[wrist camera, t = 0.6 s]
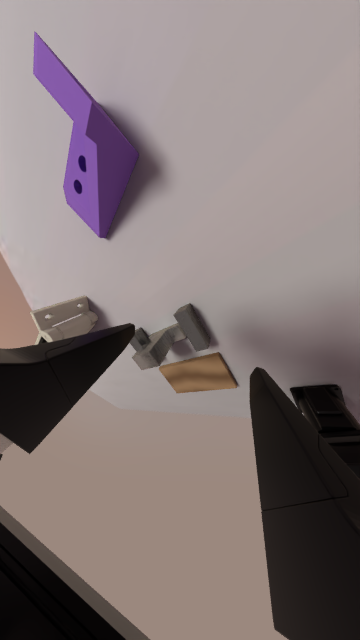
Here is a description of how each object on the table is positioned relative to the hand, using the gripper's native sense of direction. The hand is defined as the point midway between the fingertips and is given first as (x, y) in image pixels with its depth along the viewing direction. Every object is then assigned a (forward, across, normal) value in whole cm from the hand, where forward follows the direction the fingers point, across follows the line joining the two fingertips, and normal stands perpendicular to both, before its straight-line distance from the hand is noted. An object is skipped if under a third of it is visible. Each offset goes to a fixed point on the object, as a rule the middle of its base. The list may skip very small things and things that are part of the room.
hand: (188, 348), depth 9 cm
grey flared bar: (+14, +6, +11) cm, 19 cm away
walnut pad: (+14, -2, +20) cm, 24 cm away
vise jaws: (+14, +6, +11) cm, 19 cm away
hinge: (+14, +30, +14) cm, 36 cm away
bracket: (+14, +20, -12) cm, 27 cm away
